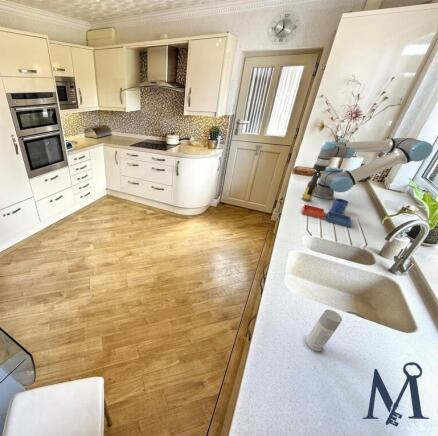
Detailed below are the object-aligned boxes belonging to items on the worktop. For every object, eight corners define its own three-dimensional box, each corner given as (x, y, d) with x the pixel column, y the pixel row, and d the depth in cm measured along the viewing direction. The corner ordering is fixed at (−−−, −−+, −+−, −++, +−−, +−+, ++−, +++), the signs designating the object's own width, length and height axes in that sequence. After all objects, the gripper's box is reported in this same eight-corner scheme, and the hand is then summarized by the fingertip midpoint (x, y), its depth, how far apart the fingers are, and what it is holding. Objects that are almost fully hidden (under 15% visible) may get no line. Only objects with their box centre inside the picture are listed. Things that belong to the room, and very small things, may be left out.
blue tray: (326, 214, 160) (328, 211, 159) (348, 219, 155) (350, 216, 153) (326, 221, 151) (328, 218, 150) (349, 227, 146) (351, 224, 144)
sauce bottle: (309, 202, 176) (319, 177, 166) (300, 199, 180) (310, 174, 170) (312, 200, 180) (322, 175, 170) (303, 197, 184) (313, 173, 174)
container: (304, 336, 80) (322, 307, 73) (319, 341, 79) (340, 312, 71) (306, 348, 77) (326, 319, 69) (322, 354, 75) (344, 324, 68)
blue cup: (329, 208, 168) (335, 197, 163) (342, 211, 164) (348, 200, 160) (329, 212, 162) (335, 201, 158) (343, 216, 159) (349, 204, 154)
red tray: (302, 207, 168) (304, 204, 167) (322, 212, 163) (324, 209, 161) (301, 213, 160) (303, 210, 158) (322, 219, 154) (324, 216, 153)
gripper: (315, 159, 177) (304, 185, 188) (314, 167, 159) (302, 195, 169) (327, 161, 173) (315, 187, 184) (327, 169, 155) (314, 198, 166)
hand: (309, 191), depth 177 cm, fingers open, 13 cm apart
